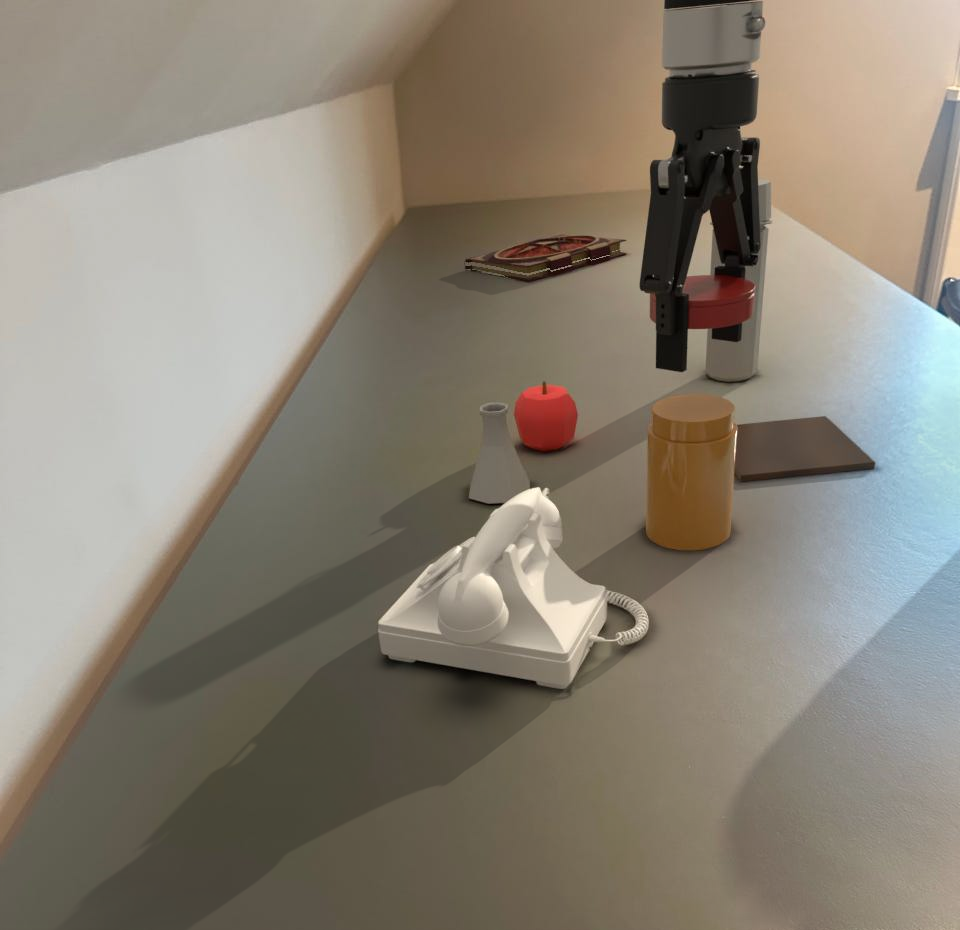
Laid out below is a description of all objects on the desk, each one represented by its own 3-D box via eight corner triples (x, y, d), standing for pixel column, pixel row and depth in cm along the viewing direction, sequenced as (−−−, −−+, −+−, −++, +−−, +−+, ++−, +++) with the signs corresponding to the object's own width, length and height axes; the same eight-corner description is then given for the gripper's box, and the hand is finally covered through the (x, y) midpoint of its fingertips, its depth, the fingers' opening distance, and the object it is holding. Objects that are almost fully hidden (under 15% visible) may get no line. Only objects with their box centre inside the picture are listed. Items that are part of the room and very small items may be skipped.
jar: (717, 509, 102) (725, 389, 95) (740, 546, 95) (750, 418, 88) (638, 517, 102) (639, 397, 95) (655, 554, 95) (658, 427, 88)
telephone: (473, 548, 99) (463, 431, 92) (677, 574, 91) (681, 448, 84) (355, 686, 80) (331, 552, 73) (600, 733, 72) (598, 588, 65)
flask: (520, 508, 106) (514, 420, 100) (458, 503, 108) (450, 417, 103) (539, 481, 112) (535, 397, 106) (481, 477, 114) (474, 394, 108)
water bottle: (756, 384, 133) (773, 186, 120) (698, 382, 136) (708, 188, 122) (763, 364, 141) (778, 174, 127) (707, 362, 143) (717, 176, 130)
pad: (824, 421, 120) (825, 415, 120) (874, 468, 108) (875, 462, 107) (705, 433, 120) (705, 427, 120) (740, 482, 107) (741, 475, 107)
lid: (629, 322, 87) (629, 294, 86) (682, 297, 93) (683, 271, 91) (720, 334, 82) (722, 305, 80) (771, 307, 87) (774, 279, 86)
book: (560, 249, 223) (559, 225, 220) (629, 256, 208) (629, 231, 205) (465, 274, 208) (463, 249, 205) (532, 284, 194) (530, 257, 191)
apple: (538, 462, 116) (535, 397, 112) (502, 443, 122) (498, 381, 118) (591, 445, 120) (590, 381, 115) (554, 427, 125) (551, 366, 121)
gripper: (678, 83, 68) (671, 396, 80) (817, 55, 81) (792, 327, 93) (591, 87, 72) (596, 382, 85) (735, 59, 86) (722, 319, 98)
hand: (699, 353), depth 89 cm, fingers closed on lid, 9 cm apart
